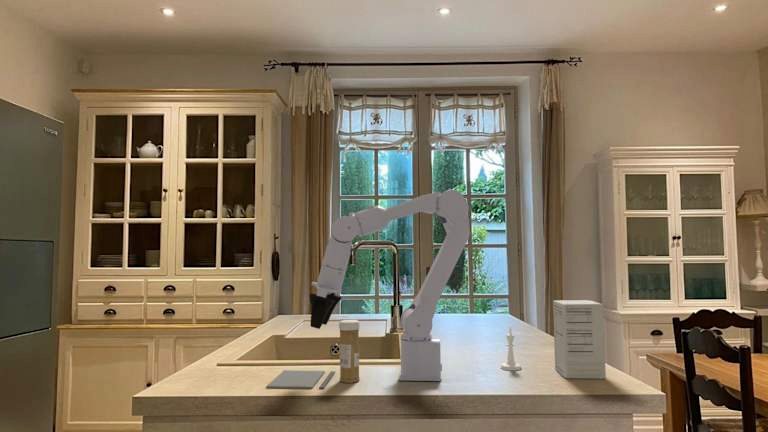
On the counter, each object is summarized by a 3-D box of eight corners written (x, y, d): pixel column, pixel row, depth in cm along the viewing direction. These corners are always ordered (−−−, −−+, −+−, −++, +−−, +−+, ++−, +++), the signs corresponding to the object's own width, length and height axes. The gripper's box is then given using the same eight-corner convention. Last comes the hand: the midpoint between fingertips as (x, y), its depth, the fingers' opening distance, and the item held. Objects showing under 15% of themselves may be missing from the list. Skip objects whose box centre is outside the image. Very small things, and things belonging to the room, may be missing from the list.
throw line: (335, 372, 128) (335, 371, 128) (323, 388, 114) (323, 387, 114) (331, 372, 128) (331, 371, 128) (319, 388, 114) (319, 387, 114)
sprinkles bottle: (363, 381, 120) (363, 320, 120) (345, 384, 117) (345, 322, 118) (353, 377, 123) (352, 318, 124) (335, 380, 121) (335, 320, 121)
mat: (324, 372, 128) (324, 370, 128) (312, 388, 114) (312, 386, 114) (283, 372, 129) (283, 370, 129) (266, 388, 115) (266, 386, 115)
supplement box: (606, 379, 120) (604, 304, 121) (565, 379, 120) (563, 304, 121) (592, 369, 129) (590, 299, 130) (553, 369, 130) (552, 299, 131)
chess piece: (500, 370, 129) (499, 328, 130) (501, 365, 134) (500, 325, 134) (521, 371, 128) (520, 329, 129) (521, 366, 133) (520, 325, 133)
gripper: (323, 263, 130) (308, 317, 130) (310, 263, 116) (294, 324, 115) (351, 270, 130) (336, 325, 129) (341, 271, 115) (325, 333, 114)
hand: (318, 325), depth 122 cm, fingers open, 7 cm apart
